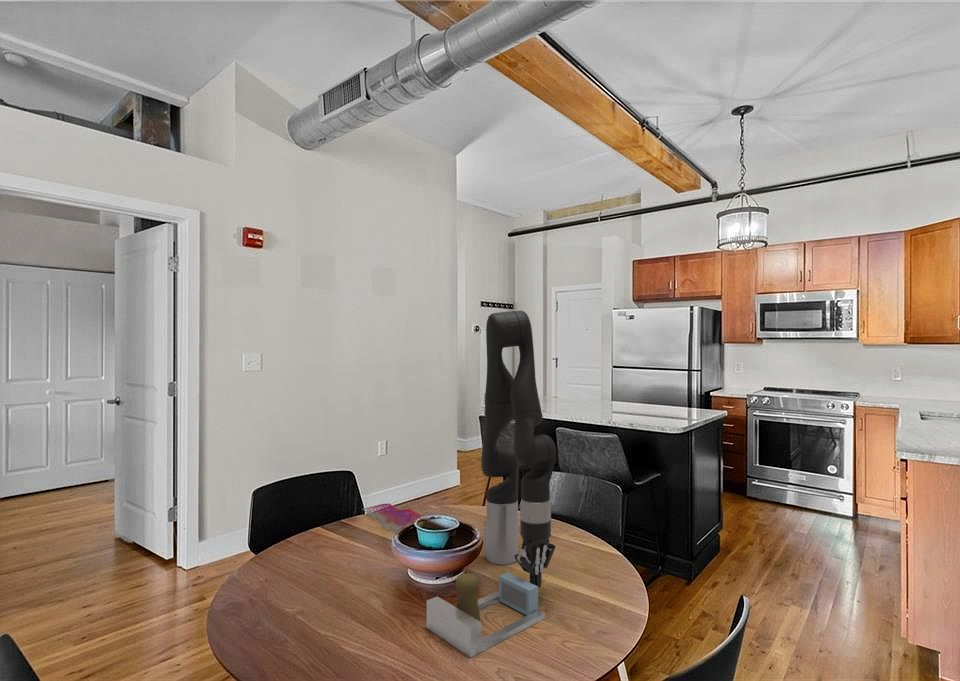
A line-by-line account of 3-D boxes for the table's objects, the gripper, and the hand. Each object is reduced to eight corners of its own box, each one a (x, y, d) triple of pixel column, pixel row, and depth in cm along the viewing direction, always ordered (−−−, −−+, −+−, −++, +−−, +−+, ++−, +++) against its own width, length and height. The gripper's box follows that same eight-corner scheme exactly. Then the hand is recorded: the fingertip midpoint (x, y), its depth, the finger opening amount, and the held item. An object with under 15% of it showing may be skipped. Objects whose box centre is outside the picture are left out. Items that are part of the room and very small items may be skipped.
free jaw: (499, 601, 128) (498, 576, 128) (508, 596, 130) (508, 572, 130) (529, 616, 121) (529, 590, 121) (538, 612, 123) (538, 586, 123)
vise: (426, 627, 117) (426, 600, 117) (499, 595, 132) (499, 571, 132) (470, 657, 106) (470, 627, 106) (544, 618, 121) (544, 592, 121)
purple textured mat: (360, 515, 195) (360, 501, 195) (397, 508, 203) (397, 494, 203) (393, 540, 170) (393, 524, 170) (434, 531, 178) (434, 515, 178)
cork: (481, 631, 115) (481, 581, 115) (454, 632, 115) (453, 582, 115) (479, 617, 121) (479, 569, 121) (453, 618, 121) (453, 570, 121)
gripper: (528, 527, 122) (528, 602, 122) (564, 514, 131) (564, 584, 131) (505, 519, 128) (505, 590, 128) (541, 507, 137) (541, 574, 137)
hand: (535, 587), depth 130 cm, fingers closed
